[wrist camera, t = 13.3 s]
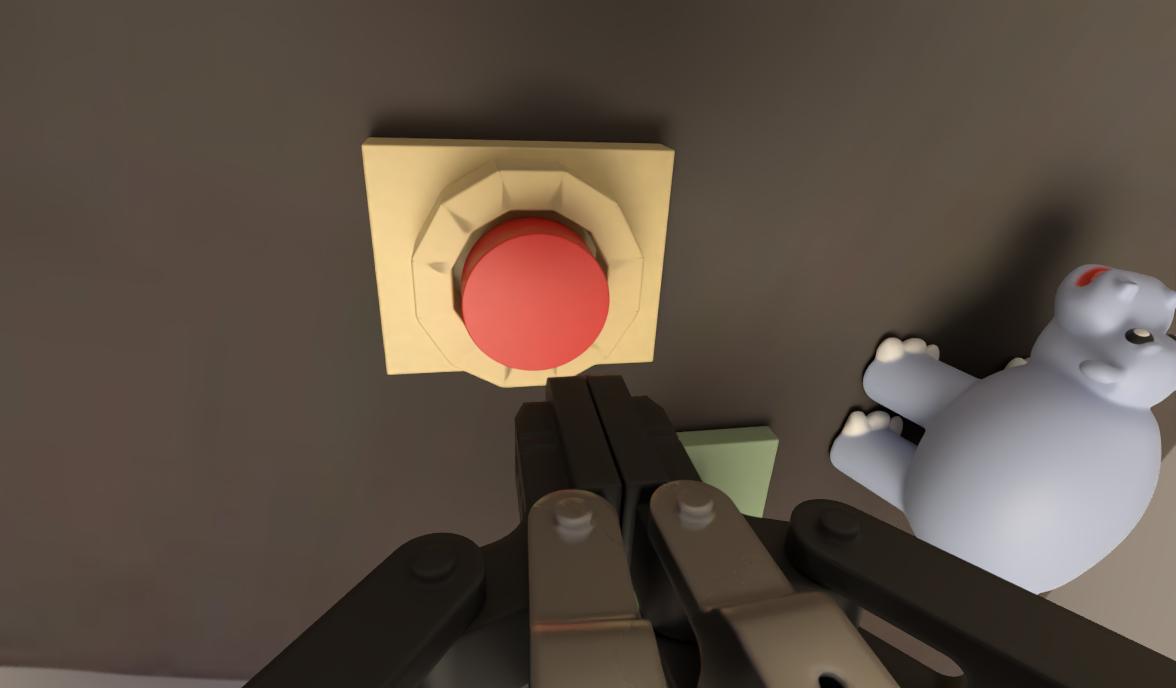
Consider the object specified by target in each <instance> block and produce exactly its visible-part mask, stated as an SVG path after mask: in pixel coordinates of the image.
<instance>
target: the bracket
mask: <svg viewBox="0 0 1176 688" xmlns="http://www.w3.org/2000/svg"><path fill="white" fill-rule="evenodd" d="M676 433H677V435H678V439H679V440H680V441H681V443H682V444H683V446H684V448H685V450H686V452H687V454H688V455H689V457H690V459H691V461H692V463H693V465H694V467H695V468H696V470H697V472H698V474H699V476H700V478H701V480H702V481H703V483H706V484H709V485H712V486H714V487H716V488H718V489H720V490H721V491H722V492H724V493H725V494H726V495H727V496H729V497H730V499H731V500H732V501H733V502H734V504H735V505H736V506H737V508H738V509H739V511H740V512H741V513H742V514H746V515H749V516H754V517H760V518H762V515H763V510H764V505H765V501H766V496H767V492H768V487H769V483H770V478H771V474H772V469H773V465H774V460H775V456H776V451H777V447H778V442H779V440H778V438H777V437H776V436H775V434H774V433H773V432H772V431H771V429H770V428H769V427H768V426H758V427H744V428H730V429H716V430H703V431H689V432H676ZM634 595H635V600H636V605H637V609H638V606H639V604H638V601H637V598H636V594H635V591H634Z"/></svg>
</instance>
